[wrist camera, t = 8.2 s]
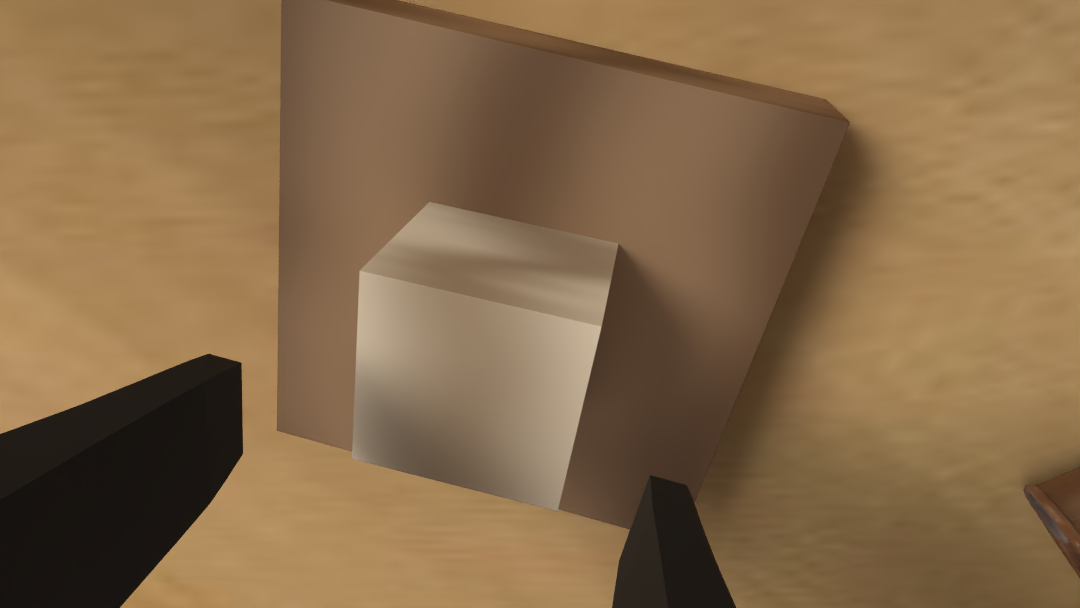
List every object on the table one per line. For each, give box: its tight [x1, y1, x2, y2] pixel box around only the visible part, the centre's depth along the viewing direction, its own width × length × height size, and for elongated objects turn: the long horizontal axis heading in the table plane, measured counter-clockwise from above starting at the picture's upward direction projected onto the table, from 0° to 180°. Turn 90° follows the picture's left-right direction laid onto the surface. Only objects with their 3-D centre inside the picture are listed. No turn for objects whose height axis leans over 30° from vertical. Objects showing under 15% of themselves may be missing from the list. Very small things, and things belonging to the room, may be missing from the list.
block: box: [352, 202, 618, 511], centre depth 15 cm, size 4×4×4 cm
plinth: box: [277, 0, 850, 529], centre depth 18 cm, size 12×12×2 cm
